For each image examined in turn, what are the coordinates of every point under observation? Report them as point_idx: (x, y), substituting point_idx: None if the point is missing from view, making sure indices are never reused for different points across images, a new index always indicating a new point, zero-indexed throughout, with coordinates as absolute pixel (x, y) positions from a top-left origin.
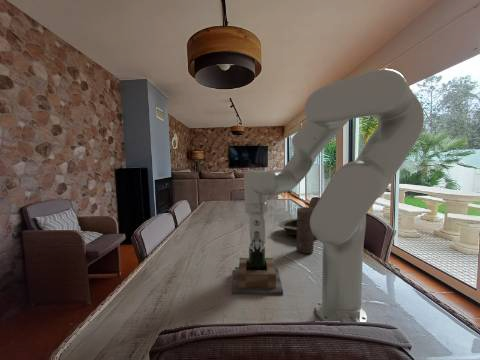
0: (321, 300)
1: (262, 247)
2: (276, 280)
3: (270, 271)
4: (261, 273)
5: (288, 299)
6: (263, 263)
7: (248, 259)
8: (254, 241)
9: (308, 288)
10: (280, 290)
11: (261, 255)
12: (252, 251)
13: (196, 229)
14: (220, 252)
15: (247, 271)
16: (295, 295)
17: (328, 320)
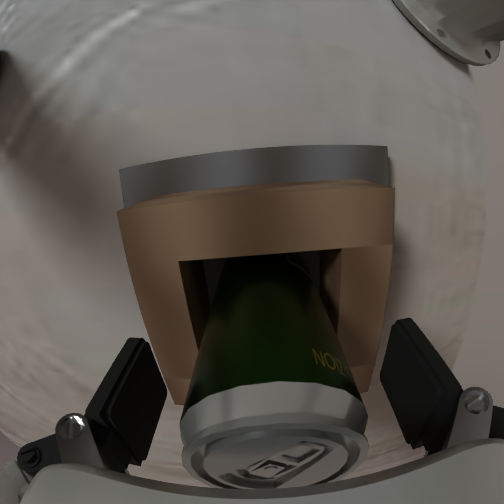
0: (420, 16)
1: (341, 414)
2: (281, 170)
3: (358, 225)
4: (381, 285)
5: (408, 129)
6: (306, 293)
7: (183, 370)
8: (137, 453)
9: (308, 22)
10: (379, 158)
11: (440, 365)
12: (422, 444)
13: (12, 425)
14: (73, 402)
15: (348, 361)
16: (377, 91)
17: (493, 53)
